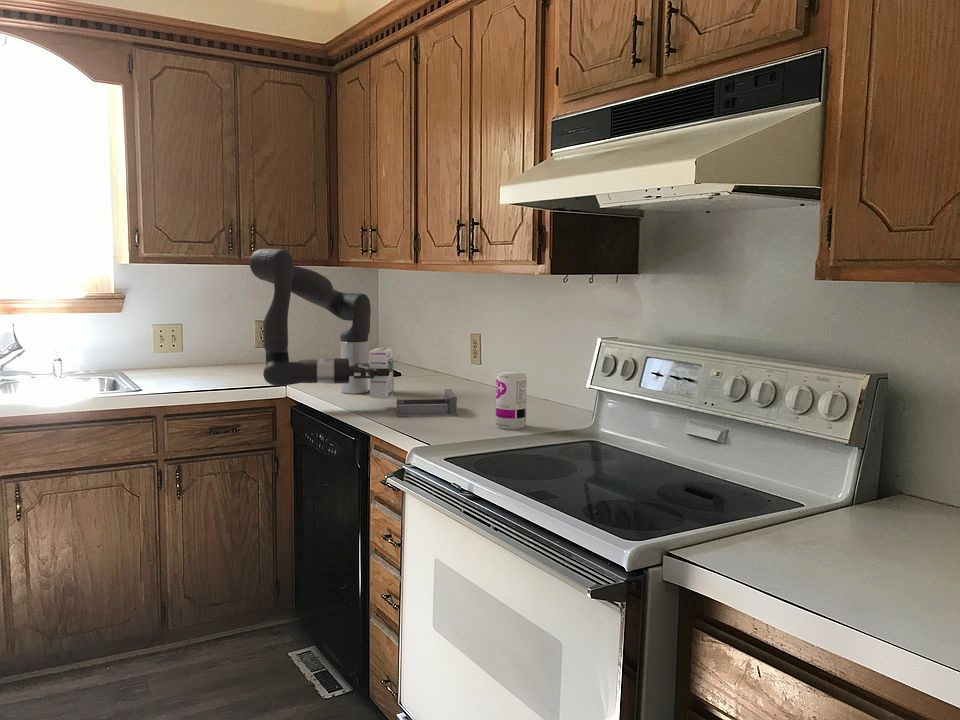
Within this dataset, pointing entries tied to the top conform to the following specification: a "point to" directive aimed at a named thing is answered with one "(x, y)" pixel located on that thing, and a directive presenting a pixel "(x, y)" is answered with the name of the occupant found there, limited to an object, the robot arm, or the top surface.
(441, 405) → the bracket
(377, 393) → the syrup box
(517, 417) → the supplement can
